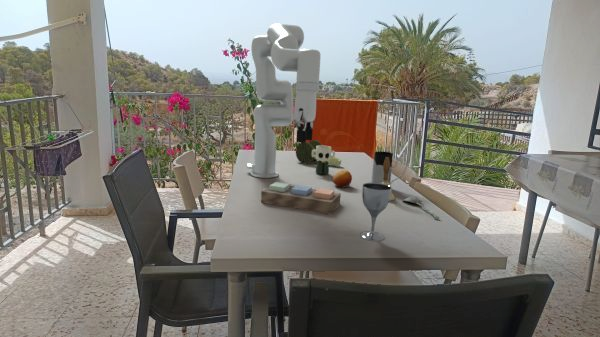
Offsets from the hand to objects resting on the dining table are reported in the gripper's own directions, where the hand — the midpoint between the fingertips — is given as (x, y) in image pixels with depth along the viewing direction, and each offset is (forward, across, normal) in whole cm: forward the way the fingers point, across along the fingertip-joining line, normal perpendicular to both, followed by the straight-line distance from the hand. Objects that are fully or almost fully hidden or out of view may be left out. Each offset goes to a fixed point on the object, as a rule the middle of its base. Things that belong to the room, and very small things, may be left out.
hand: (304, 140), depth 137 cm
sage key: (+20, 0, -8) cm, 22 cm away
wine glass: (+23, +19, +29) cm, 41 cm away
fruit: (+23, -31, +7) cm, 39 cm away
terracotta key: (+20, 0, +8) cm, 22 cm away
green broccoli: (+23, -70, -16) cm, 75 cm away
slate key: (+20, 0, 0) cm, 20 cm away
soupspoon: (+23, -15, +40) cm, 49 cm away
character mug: (+23, -48, -7) cm, 54 cm away
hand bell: (+23, -23, +26) cm, 42 cm away
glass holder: (+23, -37, +25) cm, 50 cm away
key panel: (+23, 0, 0) cm, 23 cm away
